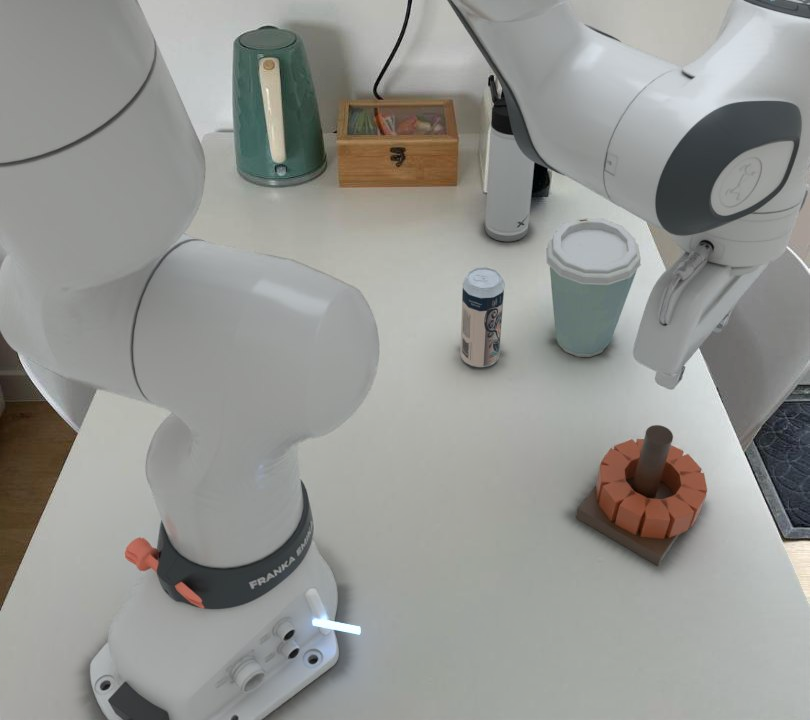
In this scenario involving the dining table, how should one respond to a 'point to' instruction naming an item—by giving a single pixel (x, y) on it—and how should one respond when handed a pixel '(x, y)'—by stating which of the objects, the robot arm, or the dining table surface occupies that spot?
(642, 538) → the stand
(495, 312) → the beer can
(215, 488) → the robot arm
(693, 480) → the ring
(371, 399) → the dining table surface
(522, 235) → the white water bottle
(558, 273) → the disposable coffee cup
